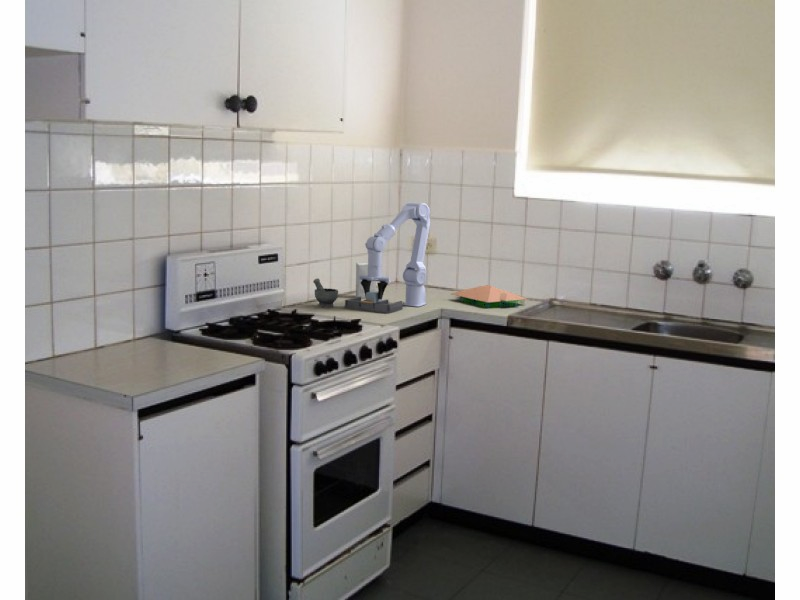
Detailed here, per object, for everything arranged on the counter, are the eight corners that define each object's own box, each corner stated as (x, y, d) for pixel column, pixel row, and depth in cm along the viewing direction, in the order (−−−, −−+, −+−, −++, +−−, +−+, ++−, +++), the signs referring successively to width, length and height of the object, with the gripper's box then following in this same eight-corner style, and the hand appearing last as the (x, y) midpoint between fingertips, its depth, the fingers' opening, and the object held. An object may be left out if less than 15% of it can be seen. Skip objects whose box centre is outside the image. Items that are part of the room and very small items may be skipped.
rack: (358, 304, 361) (358, 295, 361) (402, 309, 352) (402, 300, 352) (344, 308, 351) (344, 298, 350) (389, 313, 342) (389, 304, 341)
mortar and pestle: (329, 303, 361) (330, 275, 359) (342, 307, 353) (342, 278, 352) (307, 305, 354) (307, 277, 352) (319, 309, 347) (319, 280, 345)
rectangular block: (373, 304, 355) (373, 290, 354) (381, 305, 354) (382, 291, 353) (365, 307, 349) (366, 292, 348) (374, 308, 347) (374, 293, 347)
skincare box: (372, 296, 386) (373, 262, 383) (376, 298, 379) (377, 264, 377) (354, 296, 383) (355, 262, 381) (358, 298, 377) (358, 264, 375)
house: (491, 310, 359) (492, 291, 358) (444, 299, 386) (444, 281, 384) (531, 307, 372) (532, 288, 371) (482, 296, 399) (483, 279, 397)
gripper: (354, 265, 348) (353, 297, 350) (385, 268, 342) (384, 301, 344) (362, 263, 354) (362, 295, 357) (393, 266, 348) (392, 299, 350)
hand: (373, 298), depth 351 cm, fingers open, 5 cm apart
